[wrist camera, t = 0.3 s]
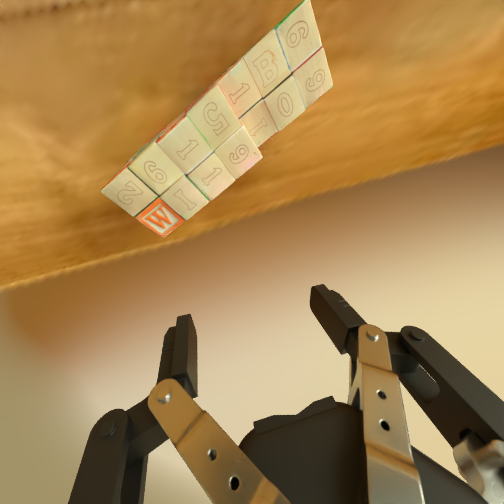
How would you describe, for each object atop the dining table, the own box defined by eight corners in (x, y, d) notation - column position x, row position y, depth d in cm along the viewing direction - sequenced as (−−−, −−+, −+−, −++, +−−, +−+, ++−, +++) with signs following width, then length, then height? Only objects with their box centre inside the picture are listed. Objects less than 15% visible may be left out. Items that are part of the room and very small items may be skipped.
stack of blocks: (269, 28, 22) (335, -27, 12) (293, 91, 25) (357, 86, 16) (130, 157, 25) (96, 192, 16) (169, 194, 29) (161, 241, 20)
